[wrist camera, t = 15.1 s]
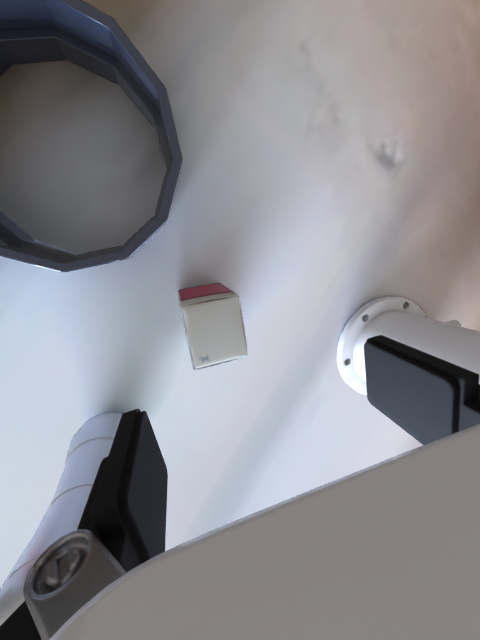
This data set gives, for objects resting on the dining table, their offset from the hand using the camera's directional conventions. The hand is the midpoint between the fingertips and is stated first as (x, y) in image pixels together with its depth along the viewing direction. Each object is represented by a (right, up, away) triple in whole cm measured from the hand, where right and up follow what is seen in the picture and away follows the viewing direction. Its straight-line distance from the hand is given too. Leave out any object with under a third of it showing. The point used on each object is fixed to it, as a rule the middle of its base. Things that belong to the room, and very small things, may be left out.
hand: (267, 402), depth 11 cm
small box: (-5, +4, +16) cm, 17 cm away
